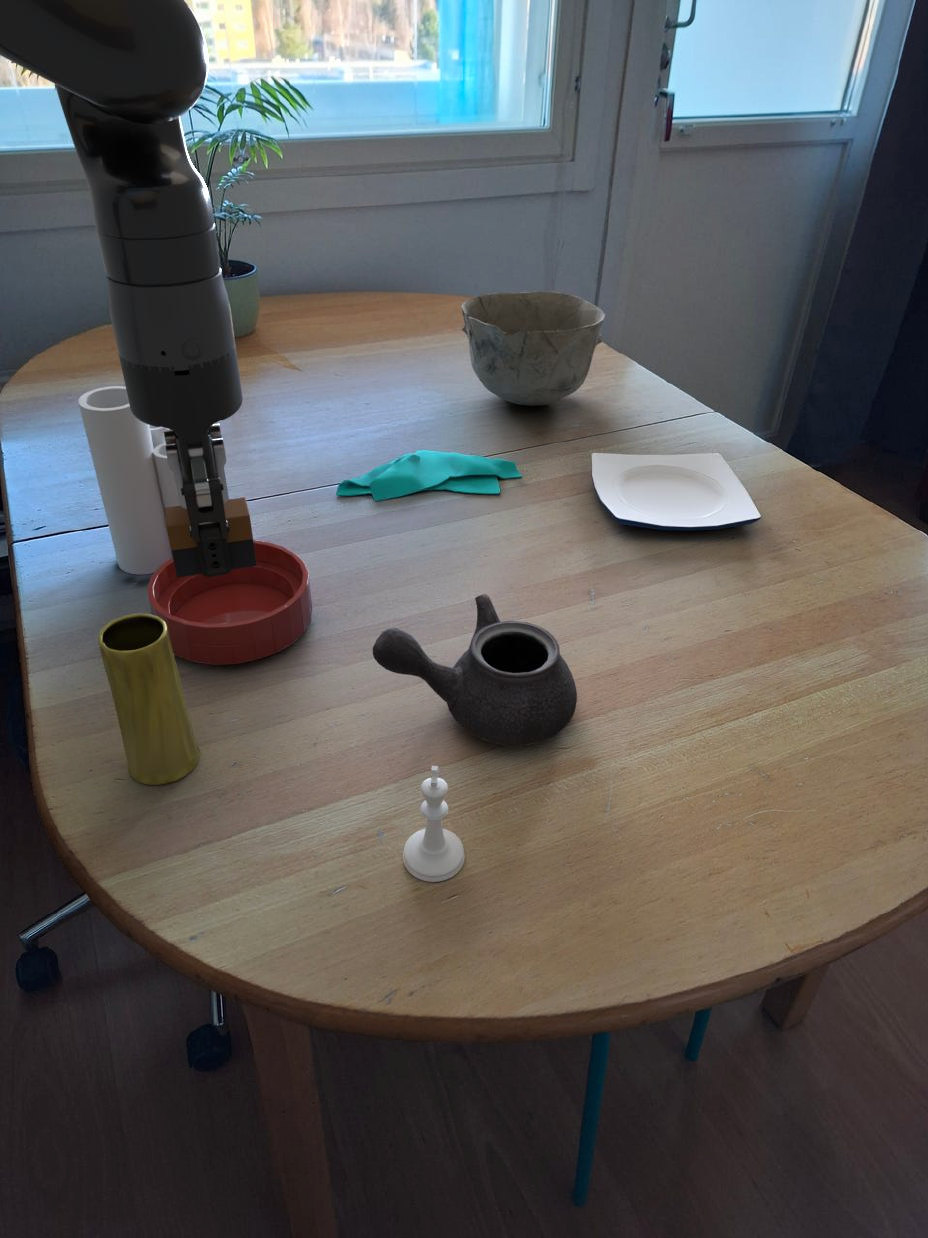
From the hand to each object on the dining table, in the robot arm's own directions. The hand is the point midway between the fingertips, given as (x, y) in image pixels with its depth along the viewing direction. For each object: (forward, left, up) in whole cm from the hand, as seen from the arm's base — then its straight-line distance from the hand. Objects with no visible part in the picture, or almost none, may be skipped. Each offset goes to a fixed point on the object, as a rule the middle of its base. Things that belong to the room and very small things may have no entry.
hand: (214, 560), depth 68 cm
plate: (+60, +29, -20) cm, 70 cm away
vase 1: (-5, +34, -20) cm, 40 cm away
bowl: (+55, +67, -20) cm, 89 cm away
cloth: (+31, +45, -20) cm, 58 cm away
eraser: (0, 0, 0) cm, 0 cm away
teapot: (+21, -2, -20) cm, 29 cm away
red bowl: (+1, +18, -19) cm, 27 cm away
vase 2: (-7, -1, -20) cm, 21 cm away
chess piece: (+12, -18, -20) cm, 29 cm away
